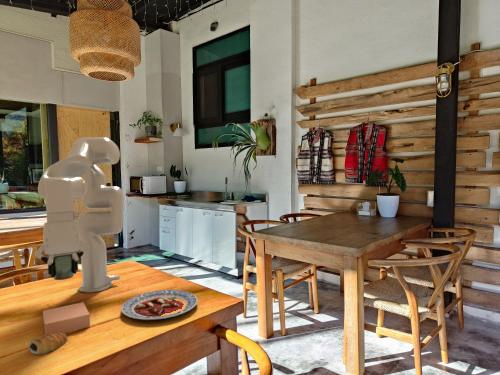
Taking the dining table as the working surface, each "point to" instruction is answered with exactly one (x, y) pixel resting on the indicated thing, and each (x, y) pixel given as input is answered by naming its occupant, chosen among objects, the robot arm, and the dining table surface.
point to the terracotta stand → (66, 318)
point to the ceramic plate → (158, 304)
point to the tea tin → (63, 266)
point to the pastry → (47, 343)
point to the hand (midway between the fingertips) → (63, 274)
